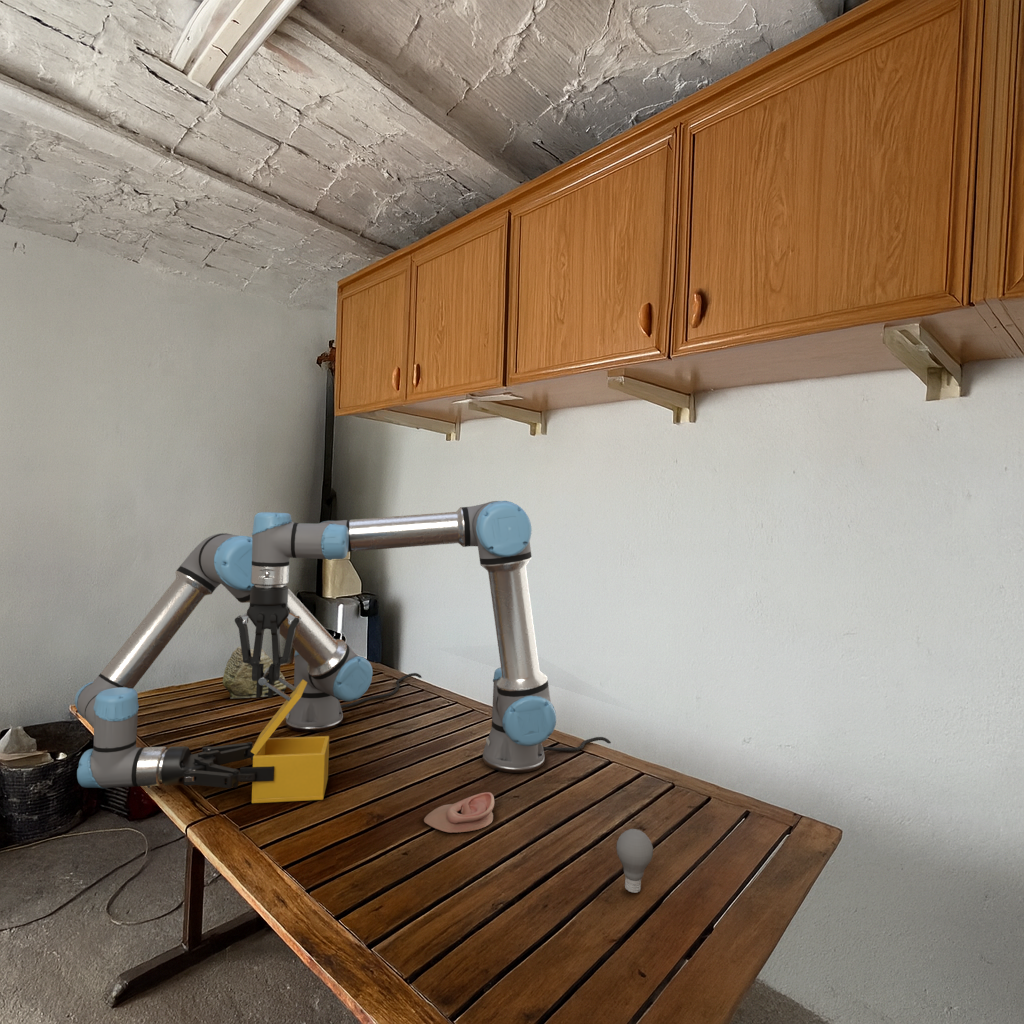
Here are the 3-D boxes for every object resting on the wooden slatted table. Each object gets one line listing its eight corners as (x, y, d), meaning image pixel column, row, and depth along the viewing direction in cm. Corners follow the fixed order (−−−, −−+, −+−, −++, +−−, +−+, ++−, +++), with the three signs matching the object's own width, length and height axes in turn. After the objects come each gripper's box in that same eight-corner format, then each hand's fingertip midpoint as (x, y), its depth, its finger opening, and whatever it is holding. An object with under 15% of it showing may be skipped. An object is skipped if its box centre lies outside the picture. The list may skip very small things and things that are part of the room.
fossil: (218, 695, 195) (220, 647, 195) (278, 685, 208) (279, 640, 207) (228, 703, 189) (230, 653, 188) (289, 692, 201) (290, 645, 201)
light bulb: (610, 879, 108) (613, 822, 108) (644, 879, 109) (647, 822, 109) (619, 902, 102) (622, 840, 102) (655, 901, 103) (658, 840, 103)
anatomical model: (419, 808, 122) (437, 782, 134) (418, 828, 122) (437, 801, 134) (485, 817, 120) (499, 791, 131) (484, 838, 120) (498, 810, 131)
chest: (327, 778, 142) (329, 735, 142) (323, 799, 132) (324, 754, 132) (261, 781, 140) (262, 738, 139) (251, 803, 130) (252, 756, 129)
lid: (307, 682, 141) (273, 659, 139) (301, 696, 131) (264, 671, 129) (265, 736, 140) (230, 713, 138) (255, 755, 130) (218, 731, 128)
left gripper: (182, 761, 142) (286, 758, 147) (144, 810, 120) (267, 805, 124) (184, 728, 142) (287, 726, 146) (145, 771, 120) (269, 767, 124)
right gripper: (228, 586, 129) (223, 701, 129) (303, 588, 132) (298, 700, 132) (236, 581, 136) (232, 690, 137) (308, 583, 139) (303, 689, 140)
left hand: (278, 762), depth 135 cm, fingers closed on chest, 10 cm apart
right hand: (265, 695), depth 135 cm, fingers closed on lid, 2 cm apart
